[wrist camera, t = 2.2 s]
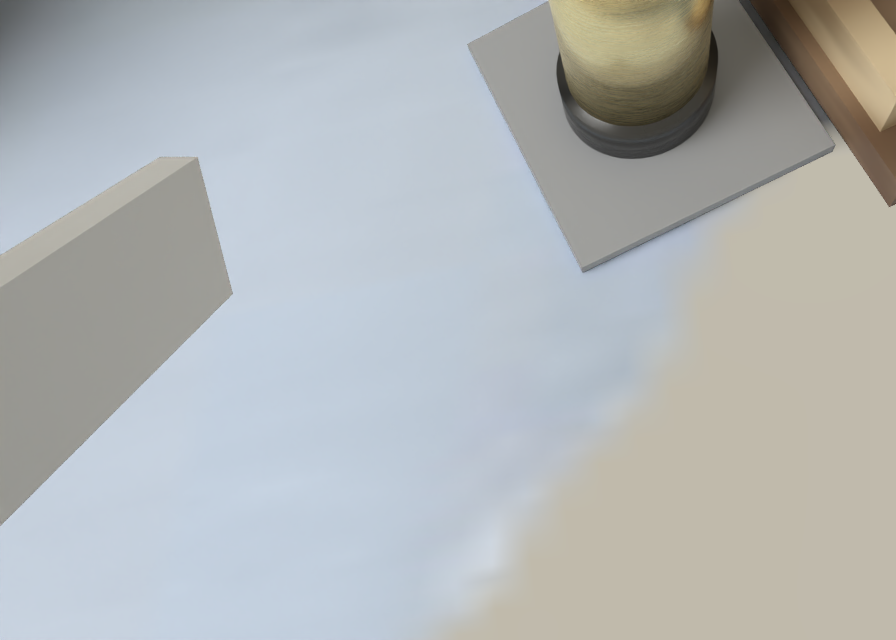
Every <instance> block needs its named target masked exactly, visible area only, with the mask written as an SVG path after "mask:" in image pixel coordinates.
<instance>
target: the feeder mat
mask: <svg viewBox="0 0 896 640" xmlns="http://www.w3.org/2000/svg"><path fill="white" fill-rule="evenodd" d="M711 30H712V32H713V34H714V36H715V39H716V43H717V48H718V67H717V76H716V84H715V93H714V99H713V103H712V106H711V109H710V111H709V113H708V116H707V117H706V119H705V120H704V122H703V124H702V125H701V126H700V127H699V129H698V130H697V131H696V132H695V133H694V134H693V135H692V136H691V137H690V138H689V139H688V140H686V141H685V142H683V143H682V144H681V145H679V146H677V147H676V148H674V149H672V150H670V151H668V152H665V153H663V154H660V155H656V156H653V157H648V158H642V159H622V158H616V157H611V156H608V155H605V154H602V153H600V152H598V151H596V150H594V149H592V148H591V147H589V146H588V145H586V144H585V143H584V142H583V141H582V140H580V139H579V137H578V136H577V135H576V134H575V133H574V131H573V130H572V128H571V127H570V125H569V123H568V121H567V119H566V116H565V112H564V109H563V104H562V100H561V96H560V92H559V88H558V83H557V76H556V67H557V60H558V55H559V52H560V50H559V45H558V41H557V36H556V31H555V27H554V22H553V18H552V13H551V8H550V4H549V1H548V2H546V3H544V4H542V5H540V6H538V7H536V8H534V9H533V10H531V11H529V12H527V13H525V14H523V15H521V16H519V17H518V18H516V19H514V20H512V21H510V22H508V23H506V24H504V25H503V26H501V27H499V28H497V29H495V30H493V31H491V32H489V33H488V34H486V35H484V36H482V37H480V38H478V39H476V40H474V41H473V42H471V43H469V44H467V45H468V47H469V50H470V52H471V54H472V56H473V58H474V60H475V62H476V64H477V66H478V68H479V70H480V72H481V74H482V76H483V78H484V80H485V82H486V84H487V86H488V88H489V90H490V92H491V94H492V95H493V97H494V99H495V101H496V103H497V105H498V107H499V109H500V111H501V113H502V115H503V117H504V119H505V121H506V123H507V125H508V127H509V129H510V131H511V133H512V135H513V137H514V139H515V141H516V143H517V145H518V147H519V149H520V150H521V152H522V154H523V156H524V158H525V160H526V162H527V164H528V166H529V168H530V170H531V172H532V174H533V176H534V178H535V180H536V182H537V184H538V186H539V188H540V190H541V192H542V194H543V196H544V198H545V200H546V202H547V204H548V205H549V207H550V209H551V211H552V213H553V215H554V217H555V219H556V221H557V223H558V225H559V227H560V229H561V231H562V233H563V235H564V237H565V239H566V241H567V243H568V245H569V247H570V249H571V251H572V253H573V255H574V257H575V259H576V260H577V262H578V264H579V266H580V268H581V270H582V272H585V271H587V270H589V269H591V268H593V267H595V266H597V265H599V264H601V263H603V262H605V261H608V260H610V259H612V258H614V257H616V256H618V255H620V254H622V253H624V252H626V251H628V250H630V249H632V248H634V247H636V246H639V245H641V244H643V243H645V242H647V241H649V240H651V239H653V238H655V237H657V236H659V235H661V234H663V233H665V232H667V231H669V230H672V229H674V228H676V227H678V226H680V225H682V224H684V223H686V222H688V221H690V220H692V219H694V218H696V217H698V216H700V215H703V214H705V213H707V212H709V211H711V210H713V209H715V208H717V207H719V206H721V205H723V204H725V203H727V202H729V201H731V200H733V199H736V198H738V197H740V196H742V195H744V194H746V193H748V192H750V191H752V190H754V189H756V188H758V187H760V186H762V185H764V184H767V183H769V182H771V181H773V180H775V179H777V178H779V177H781V176H783V175H785V174H787V173H789V172H791V171H793V170H795V169H797V168H799V167H802V166H804V165H806V164H808V163H810V162H812V161H814V160H816V159H818V158H820V157H822V156H824V155H826V154H828V153H830V152H832V151H833V149H834V147H835V143H834V142H833V140H832V139H831V137H830V136H829V134H828V133H827V131H826V130H825V128H824V127H823V125H822V124H821V122H820V121H819V119H818V118H817V116H816V115H815V113H814V112H813V110H812V109H811V108H810V106H809V105H808V103H807V102H806V100H805V99H804V97H803V96H802V94H801V93H800V91H799V90H798V88H797V87H796V85H795V84H794V82H793V81H792V79H791V78H790V76H789V75H788V73H787V72H786V70H785V69H784V67H783V66H782V64H781V63H780V61H779V60H778V58H777V57H776V55H775V54H774V52H773V51H772V50H771V48H770V47H769V45H768V44H767V42H766V41H765V39H764V38H763V36H762V35H761V33H760V32H759V30H758V29H757V27H756V26H755V24H754V23H753V21H752V20H751V18H750V17H749V15H748V14H747V12H746V11H745V9H744V8H743V6H742V5H741V3H740V2H739V0H714V6H713V17H712V27H711Z"/></svg>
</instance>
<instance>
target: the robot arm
mask: <svg viewBox="0 0 896 640" xmlns="http://www.w3.org/2000/svg"><path fill="white" fill-rule="evenodd" d="M232 294H233V293H232V289H231V285H230V281H229V277H228V273H227V270H226V266H225V262H224V258H223V254H222V250H221V246H220V242H219V239H218V235H217V231H216V227H215V223H214V219H213V215H212V211H211V208H210V204H209V200H208V196H207V192H206V188H205V184H204V180H203V177H202V173H201V169H200V165H199V161H198V157H159V158H157V159H156V160H154V161H153V162H151V163H149V164H148V165H146V166H144V167H143V168H141V169H140V170H138V171H136V172H135V173H133V174H131V175H130V176H128V177H127V178H125V179H123V180H122V181H120V182H118V183H117V184H115V185H114V186H112V187H110V188H109V189H107V190H106V191H104V192H102V193H101V194H99V195H97V196H96V197H94V198H93V199H91V200H89V201H88V202H86V203H84V204H83V205H81V206H80V207H78V208H76V209H75V210H73V211H71V212H70V213H68V214H67V215H65V216H63V217H62V218H60V219H58V220H57V221H55V222H54V223H52V224H50V225H49V226H47V227H45V228H44V229H42V230H41V231H39V232H37V233H36V234H34V235H33V236H31V237H29V238H28V239H26V240H24V241H23V242H21V243H20V244H18V245H16V246H15V247H13V248H11V249H10V250H8V251H7V252H5V253H3V254H2V255H0V526H1V525H2V524H3V523H4V522H5V521H6V520H7V519H8V518H9V517H10V516H11V515H12V514H13V513H14V512H15V511H16V510H17V509H18V508H19V507H20V506H21V505H22V504H23V503H24V502H25V501H26V500H27V499H28V498H29V497H30V496H31V495H32V494H33V493H34V492H35V491H36V490H37V489H38V488H39V487H40V486H41V485H42V484H43V483H44V482H45V481H46V480H47V479H48V478H49V477H50V476H51V475H52V474H53V473H54V472H55V471H56V470H57V469H58V468H59V467H60V466H61V465H62V464H63V463H64V462H65V461H66V460H67V459H68V458H69V457H70V456H71V455H72V454H73V453H74V452H75V451H76V450H77V449H78V448H79V447H80V446H81V445H82V444H83V443H84V442H85V441H86V440H87V439H88V438H89V437H90V436H91V435H92V434H93V433H94V432H95V431H96V430H97V429H98V428H99V427H100V426H101V425H102V424H103V423H104V422H105V421H106V420H107V419H108V418H109V417H110V416H111V415H112V414H113V413H114V412H115V411H116V410H117V409H118V408H119V407H120V406H121V405H122V404H123V403H124V402H125V401H126V400H127V399H128V398H129V397H130V396H131V395H132V394H133V393H134V392H135V391H136V390H137V389H138V388H139V387H140V386H141V385H142V384H143V383H144V382H145V381H146V380H147V379H148V378H149V377H150V376H151V375H152V374H153V373H154V372H155V371H156V370H157V369H158V368H159V367H160V366H161V365H162V364H163V363H164V362H165V361H166V360H167V359H168V358H169V357H170V356H171V355H172V354H173V353H174V352H175V351H176V350H177V349H178V348H179V347H180V346H181V345H182V344H183V343H184V342H185V341H186V340H187V339H188V338H189V337H190V336H191V335H192V334H193V333H194V332H195V331H196V330H197V329H198V328H199V327H200V326H201V325H202V324H203V323H204V322H205V321H206V320H207V319H208V318H209V317H210V316H211V315H212V314H213V313H214V312H215V311H216V310H217V309H218V308H219V307H220V306H221V305H222V304H223V303H224V302H225V301H226V300H227V299H228V298H229V297H230V296H231V295H232Z"/></svg>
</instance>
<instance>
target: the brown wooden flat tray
mask: <svg viewBox="0 0 896 640" xmlns="http://www.w3.org/2000/svg"><path fill="white" fill-rule="evenodd" d="M749 1H750V2H751V4H752V5H753V7H754V8H755V10H756V11H757V13H758V14H759V16H760V17H761V18H762V20H763V21H764V23H765V24H766V26H767V27H768V29H769V30H770V32H771V33H772V35H773V36H774V38H775V39H776V41H777V42H778V44H779V45H780V46H781V48H782V49H783V51H784V52H785V54H786V55H787V57H788V58H789V60H790V61H791V63H792V64H793V66H794V67H795V69H796V70H797V72H798V73H799V75H800V76H801V77H802V79H803V80H804V82H805V83H806V85H807V86H808V88H809V89H810V91H811V92H812V94H813V95H814V97H815V98H816V100H817V101H818V103H819V104H820V105H821V107H822V108H823V110H824V111H825V113H826V114H827V116H828V117H829V119H830V120H831V122H832V123H833V125H834V126H835V128H836V129H837V131H838V132H839V133H840V135H841V136H842V138H843V139H844V141H845V142H846V144H847V145H848V147H849V148H850V150H851V151H852V153H853V154H854V156H855V157H856V159H857V160H858V162H859V163H860V164H861V166H862V167H863V169H864V170H865V172H866V173H867V175H868V176H869V178H870V179H871V181H872V182H873V183H874V185H875V186H876V188H877V189H878V191H879V192H880V194H881V195H882V197H883V198H884V200H885V201H886V203H887V204H888V206H889V207H890V206H893V205H895V204H896V0H749Z"/></svg>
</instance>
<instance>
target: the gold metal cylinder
mask: <svg viewBox="0 0 896 640" xmlns="http://www.w3.org/2000/svg"><path fill="white" fill-rule="evenodd" d="M549 4H550V8H551V13H552V18H553V22H554V27H555V31H556V36H557V41H558V45H559V50H560V52H559V55H558V60H557V67H556V76H557V83H558V88H559V92H560V96H561V100H562V104H563V109H564V112H565V116H566V119H567V121H568V123H569V125H570V127H571V128H572V130H573V131H574V133H575V134H576V135H577V136H578V137H579V139H580V140H582V141H583V142H584V143H585V144H586V145H588V146H589V147H591V148H592V149H594V150H596V151H598V152H600V153H602V154H605V155H608V156H611V157H616V158H622V159H642V158H648V157H653V156H656V155H660V154H663V153H665V152H668V151H670V150H672V149H674V148H676V147H677V146H679V145H681V144H682V143H683V142H685V141H686V140H688V139H689V138H690V137H691V136H692V135H693V134H694V133H695V132H696V131H697V130H698V129H699V127H700V126H701V125H702V124H703V122H704V120H705V119H706V117H707V116H708V113H709V111H710V109H711V106H712V103H713V99H714V93H715V84H716V76H717V67H718V48H717V43H716V39H715V36H714V34H713V32H712V30H711V27H712V17H713V6H714V0H549Z"/></svg>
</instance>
